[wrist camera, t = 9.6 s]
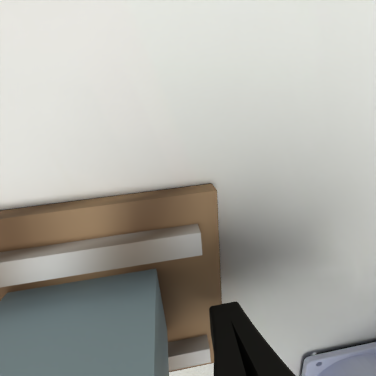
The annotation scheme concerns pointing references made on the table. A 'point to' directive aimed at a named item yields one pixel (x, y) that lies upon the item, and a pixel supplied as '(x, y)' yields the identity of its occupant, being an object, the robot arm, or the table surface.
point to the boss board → (126, 254)
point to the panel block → (86, 328)
